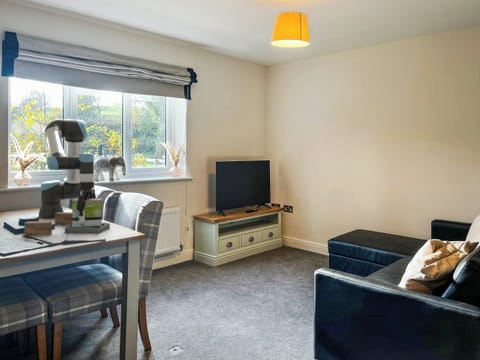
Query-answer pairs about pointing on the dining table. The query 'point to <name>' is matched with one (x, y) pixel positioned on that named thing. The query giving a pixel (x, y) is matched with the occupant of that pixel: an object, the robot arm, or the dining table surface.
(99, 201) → the tea box
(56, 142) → the robot arm
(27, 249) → the dining table surface
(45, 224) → the block
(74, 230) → the tray
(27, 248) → the dining table surface
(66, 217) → the block
